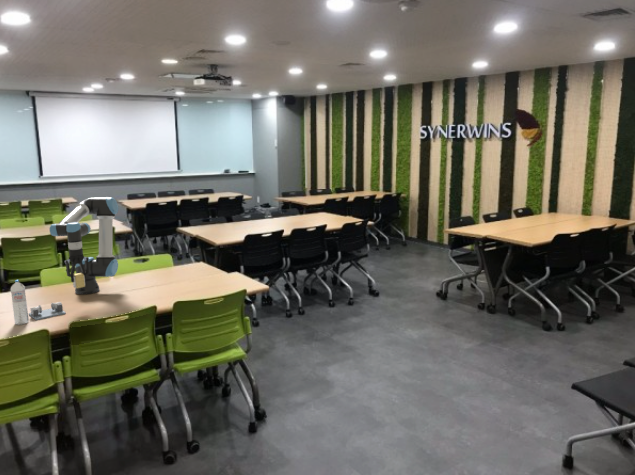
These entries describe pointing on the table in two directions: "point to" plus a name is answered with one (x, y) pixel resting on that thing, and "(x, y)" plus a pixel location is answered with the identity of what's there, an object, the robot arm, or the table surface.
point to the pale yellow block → (79, 280)
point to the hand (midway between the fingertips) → (79, 286)
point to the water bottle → (19, 303)
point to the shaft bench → (47, 311)
